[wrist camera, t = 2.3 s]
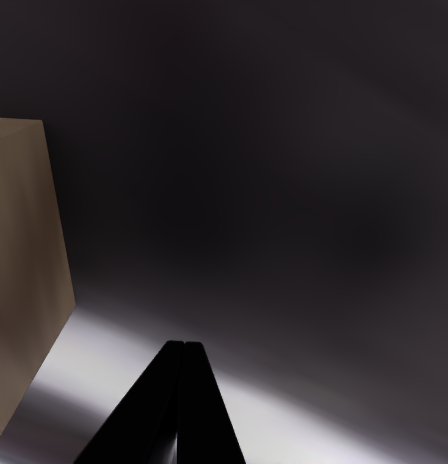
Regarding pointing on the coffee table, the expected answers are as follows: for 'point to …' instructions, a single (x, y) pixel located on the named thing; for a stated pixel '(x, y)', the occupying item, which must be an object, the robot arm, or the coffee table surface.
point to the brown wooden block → (28, 261)
